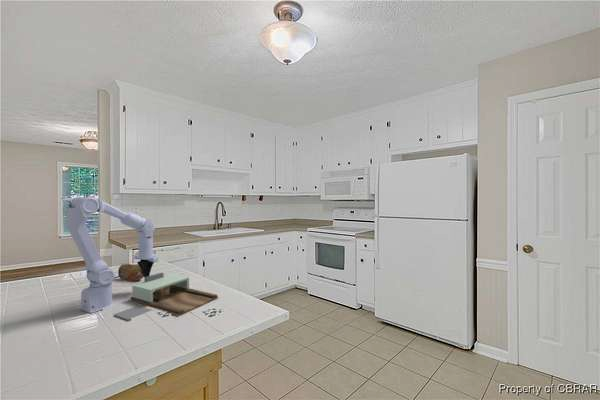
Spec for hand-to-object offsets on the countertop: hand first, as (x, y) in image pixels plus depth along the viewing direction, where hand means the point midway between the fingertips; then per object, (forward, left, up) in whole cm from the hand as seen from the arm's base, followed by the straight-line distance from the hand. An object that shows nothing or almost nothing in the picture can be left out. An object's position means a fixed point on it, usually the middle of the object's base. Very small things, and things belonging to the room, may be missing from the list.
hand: (146, 276), depth 125 cm
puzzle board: (0, -19, -7) cm, 20 cm away
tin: (+8, +25, -8) cm, 27 cm away
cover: (0, -11, -5) cm, 12 cm away
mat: (-16, -17, -7) cm, 24 cm away
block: (0, -11, -7) cm, 13 cm away
